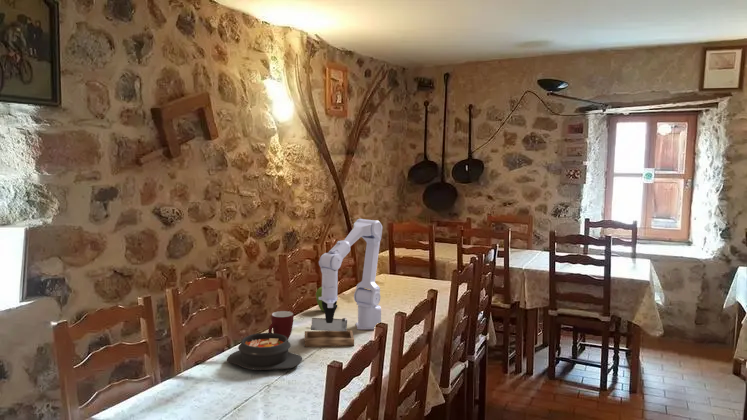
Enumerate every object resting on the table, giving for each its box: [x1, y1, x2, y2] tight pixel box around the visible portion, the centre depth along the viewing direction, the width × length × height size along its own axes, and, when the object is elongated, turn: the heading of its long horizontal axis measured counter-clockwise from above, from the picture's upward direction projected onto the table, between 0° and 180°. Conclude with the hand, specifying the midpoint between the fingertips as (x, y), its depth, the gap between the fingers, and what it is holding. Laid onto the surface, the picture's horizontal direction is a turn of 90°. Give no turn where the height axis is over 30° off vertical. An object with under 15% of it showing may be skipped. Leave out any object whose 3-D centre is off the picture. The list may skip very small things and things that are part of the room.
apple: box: [315, 286, 324, 312], centre depth 239 cm, size 9×8×12 cm
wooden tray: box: [304, 329, 355, 348], centre depth 199 cm, size 18×10×3 cm, turn 97°
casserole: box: [226, 332, 303, 371], centre depth 177 cm, size 25×19×8 cm
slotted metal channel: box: [310, 317, 348, 331], centre depth 199 cm, size 13×2×4 cm, turn 97°
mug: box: [267, 310, 294, 340], centre depth 199 cm, size 10×8×10 cm
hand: (329, 321), depth 199 cm, fingers closed on slotted metal channel, 2 cm apart
